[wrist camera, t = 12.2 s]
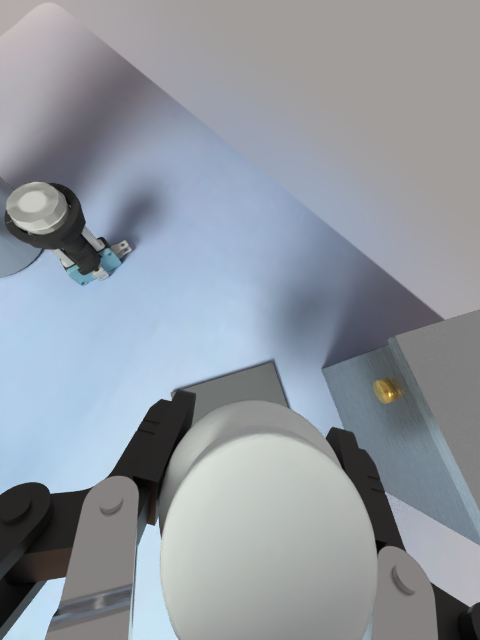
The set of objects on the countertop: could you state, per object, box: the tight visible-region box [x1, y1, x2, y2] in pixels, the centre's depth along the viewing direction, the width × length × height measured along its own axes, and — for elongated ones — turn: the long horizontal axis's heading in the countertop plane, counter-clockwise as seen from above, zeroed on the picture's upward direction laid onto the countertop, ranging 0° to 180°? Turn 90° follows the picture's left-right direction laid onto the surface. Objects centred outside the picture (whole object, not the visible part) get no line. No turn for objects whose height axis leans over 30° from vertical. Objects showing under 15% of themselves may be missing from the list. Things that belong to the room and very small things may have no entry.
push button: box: [4, 182, 132, 286], centre depth 24 cm, size 7×5×10 cm
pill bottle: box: [159, 400, 378, 640], centre depth 9 cm, size 5×5×10 cm
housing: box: [322, 310, 480, 545], centre depth 19 cm, size 8×11×13 cm
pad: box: [171, 362, 288, 427], centre depth 24 cm, size 10×10×1 cm
